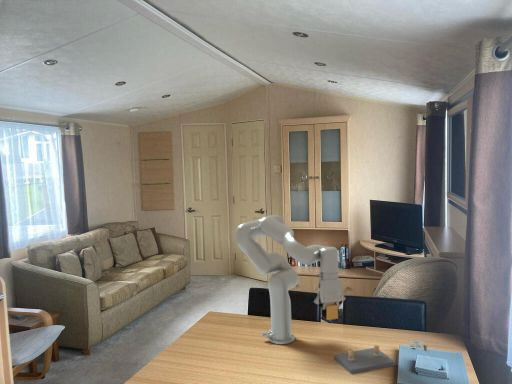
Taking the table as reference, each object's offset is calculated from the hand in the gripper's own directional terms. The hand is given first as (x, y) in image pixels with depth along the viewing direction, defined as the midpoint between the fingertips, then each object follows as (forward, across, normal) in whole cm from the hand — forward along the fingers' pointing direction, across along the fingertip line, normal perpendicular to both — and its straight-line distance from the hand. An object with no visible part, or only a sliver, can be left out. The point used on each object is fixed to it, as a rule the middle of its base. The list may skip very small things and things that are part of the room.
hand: (330, 316), depth 177 cm
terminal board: (+15, +8, -14) cm, 22 cm away
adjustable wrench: (+16, +35, -17) cm, 42 cm away
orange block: (0, 0, 0) cm, 0 cm away
